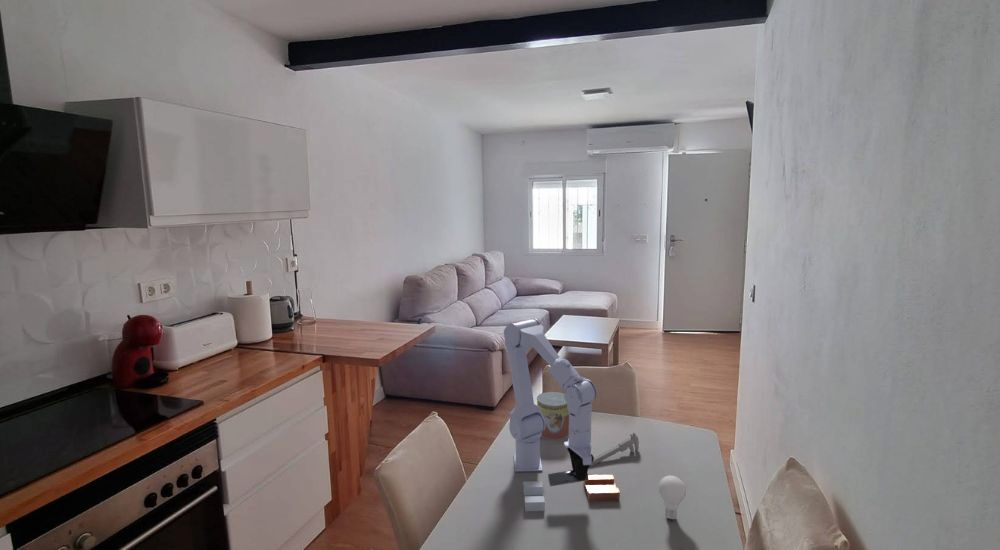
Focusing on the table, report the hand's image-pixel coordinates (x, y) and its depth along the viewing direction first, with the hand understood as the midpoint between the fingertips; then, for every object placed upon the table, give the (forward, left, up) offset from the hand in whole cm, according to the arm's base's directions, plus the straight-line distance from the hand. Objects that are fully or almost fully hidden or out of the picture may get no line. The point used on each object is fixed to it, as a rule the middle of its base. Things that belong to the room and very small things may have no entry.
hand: (579, 475), depth 126 cm
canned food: (-37, -2, -7) cm, 38 cm away
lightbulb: (+8, +22, -7) cm, 24 cm away
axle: (0, -3, -2) cm, 3 cm away
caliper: (-20, +13, -8) cm, 25 cm away
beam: (0, -12, -7) cm, 14 cm away
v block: (-3, +7, -7) cm, 10 cm away
